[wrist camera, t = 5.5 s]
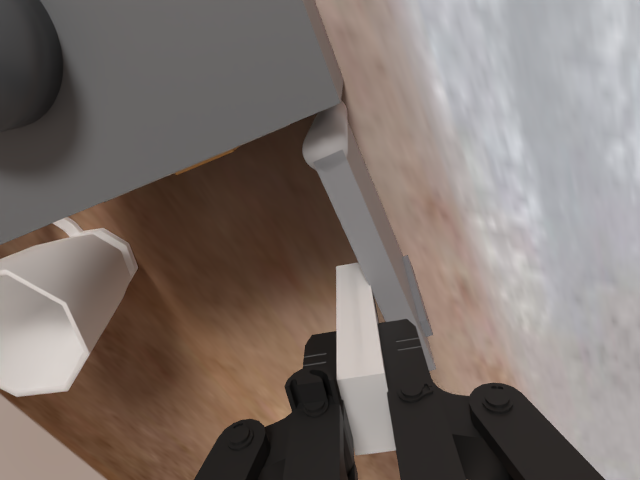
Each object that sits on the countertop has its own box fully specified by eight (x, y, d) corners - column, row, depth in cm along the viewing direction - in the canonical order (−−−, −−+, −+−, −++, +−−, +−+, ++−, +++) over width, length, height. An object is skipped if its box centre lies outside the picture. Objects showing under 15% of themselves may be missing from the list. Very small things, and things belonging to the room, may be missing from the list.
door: (386, 270, 25) (405, 378, 17) (314, 105, 22) (294, 137, 13) (411, 261, 25) (443, 366, 16) (342, 92, 21) (340, 117, 13)
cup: (101, 326, 29) (17, 420, 22) (-16, 203, 26) (-161, 263, 19) (182, 277, 27) (121, 361, 20) (66, 139, 24) (-58, 177, 17)
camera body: (42, 25, 22) (-294, -4, 10) (278, -100, 19) (178, -321, 8) (130, 178, 25) (-56, 287, 13) (346, 87, 22) (345, 125, 11)
